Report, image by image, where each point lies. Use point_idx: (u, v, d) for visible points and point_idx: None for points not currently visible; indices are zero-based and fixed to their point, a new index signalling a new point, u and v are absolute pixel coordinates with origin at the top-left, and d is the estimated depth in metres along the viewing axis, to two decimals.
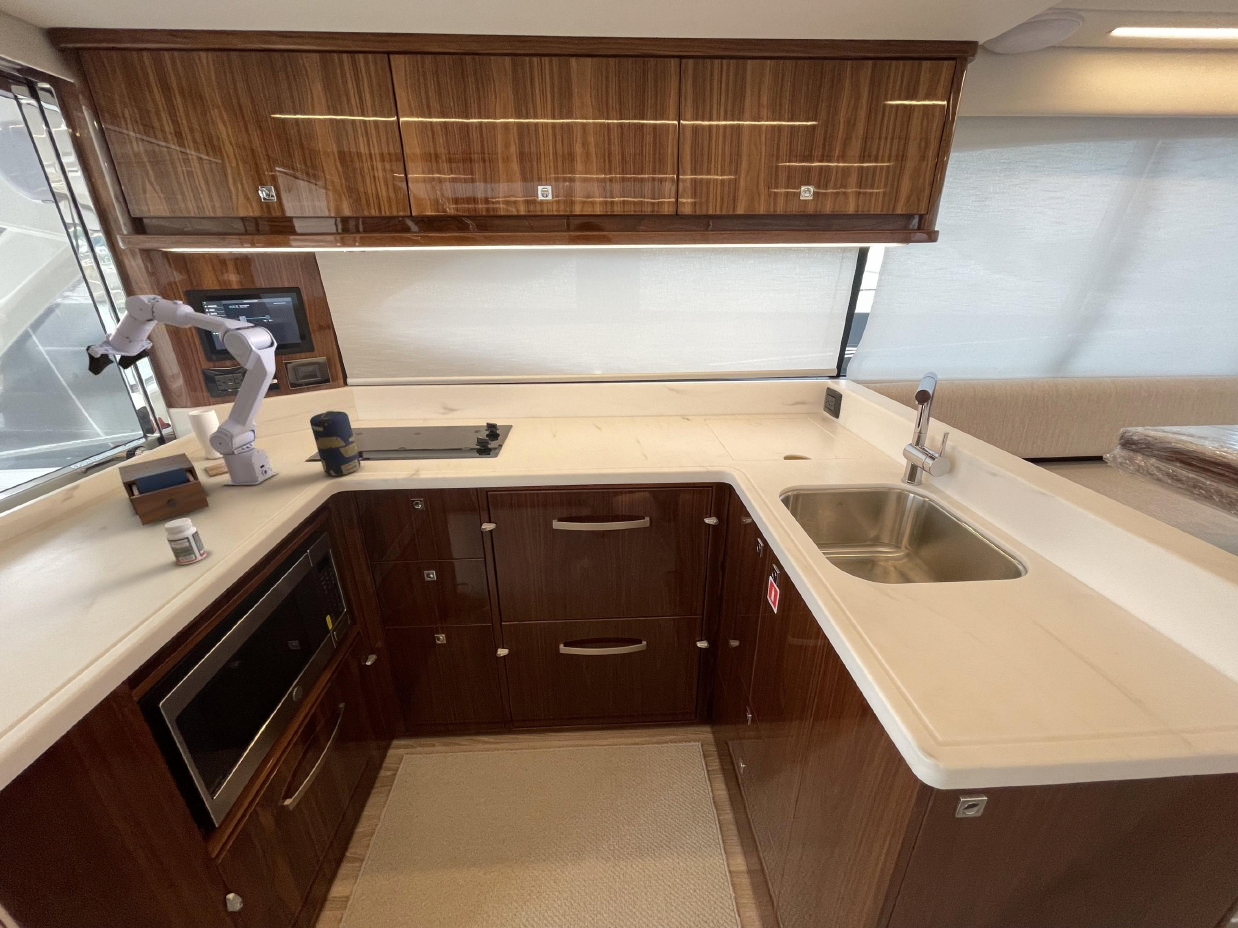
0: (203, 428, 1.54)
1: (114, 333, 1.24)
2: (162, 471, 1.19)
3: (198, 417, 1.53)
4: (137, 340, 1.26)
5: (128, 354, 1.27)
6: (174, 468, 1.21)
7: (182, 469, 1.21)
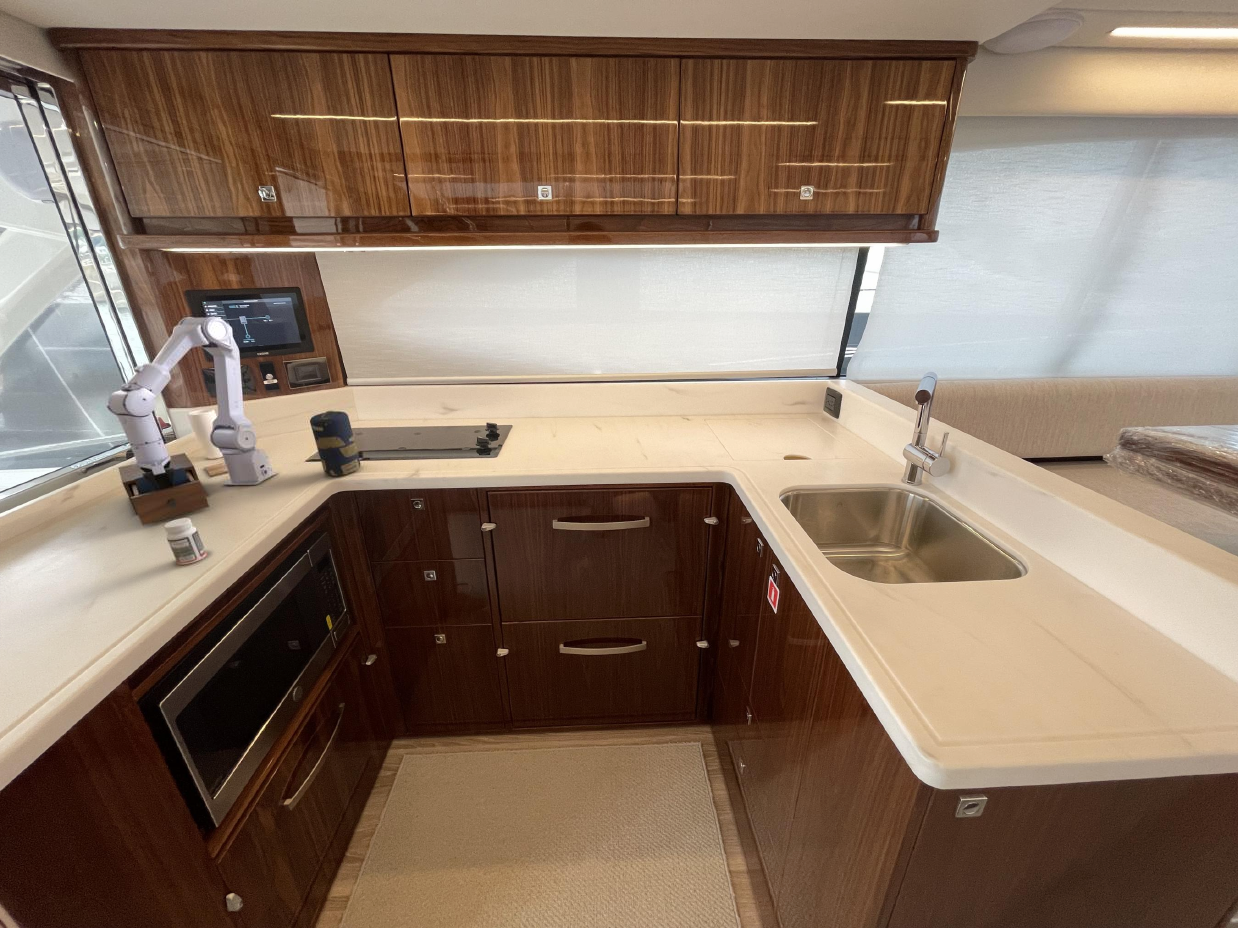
0: (203, 428, 1.54)
1: (141, 450, 1.15)
2: None
3: (198, 417, 1.53)
4: (161, 437, 1.19)
5: (169, 457, 1.19)
6: (174, 468, 1.21)
7: (182, 469, 1.21)
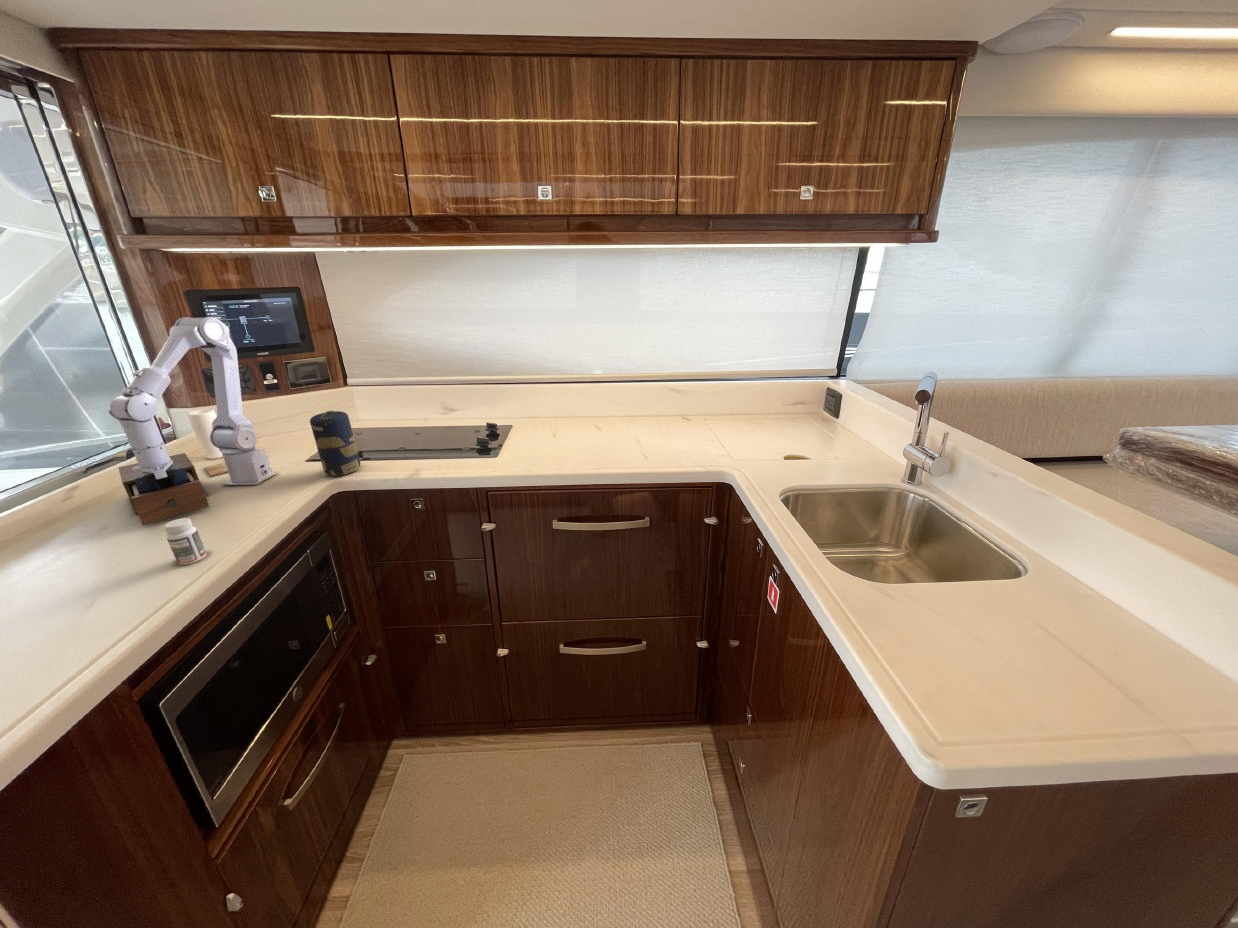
0: (203, 428, 1.54)
1: (143, 454, 1.15)
2: None
3: (198, 417, 1.53)
4: None
5: (171, 462, 1.20)
6: (174, 468, 1.21)
7: (182, 469, 1.21)
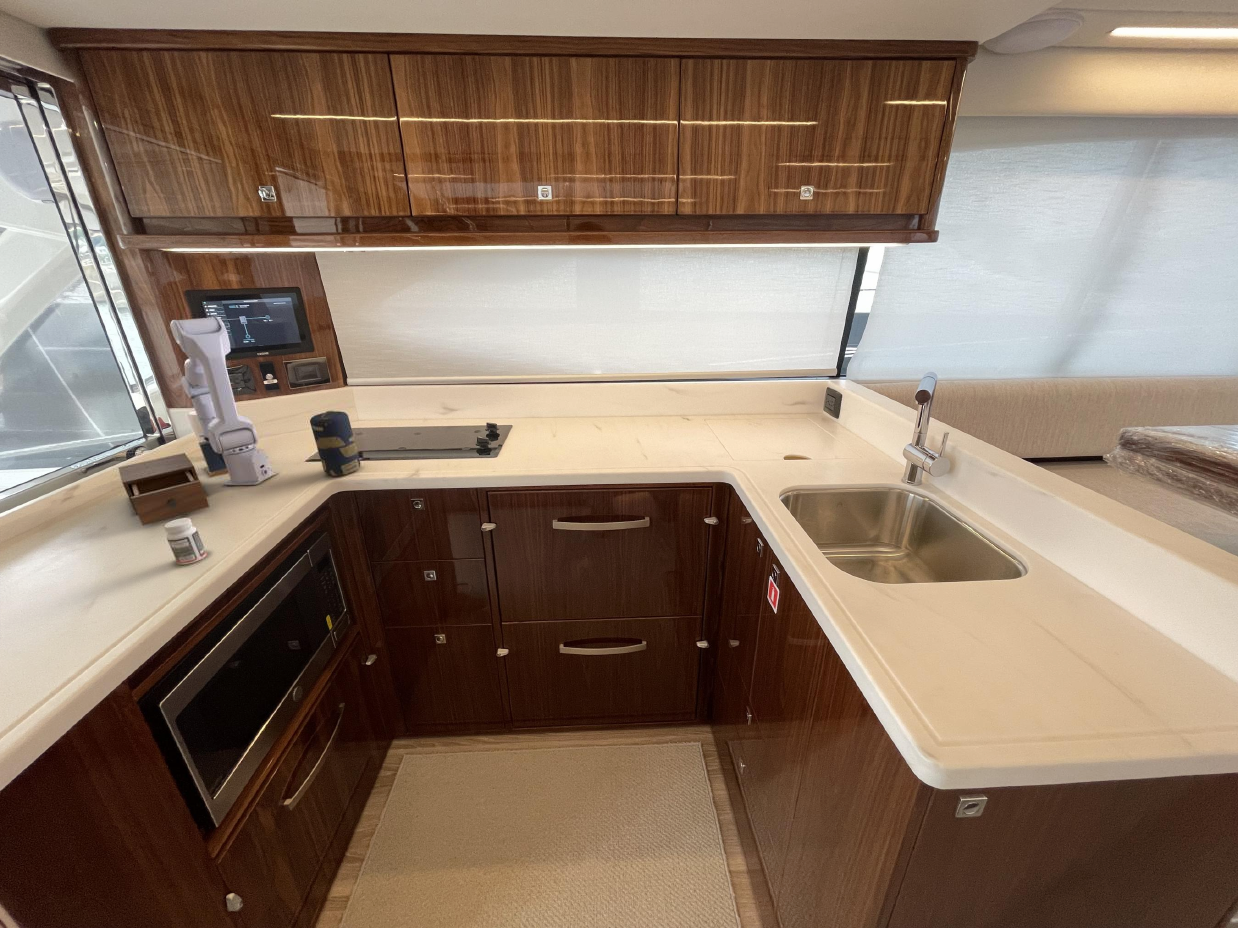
0: None
1: (207, 423, 1.43)
2: None
3: None
4: (208, 418, 1.43)
5: None
6: None
7: None
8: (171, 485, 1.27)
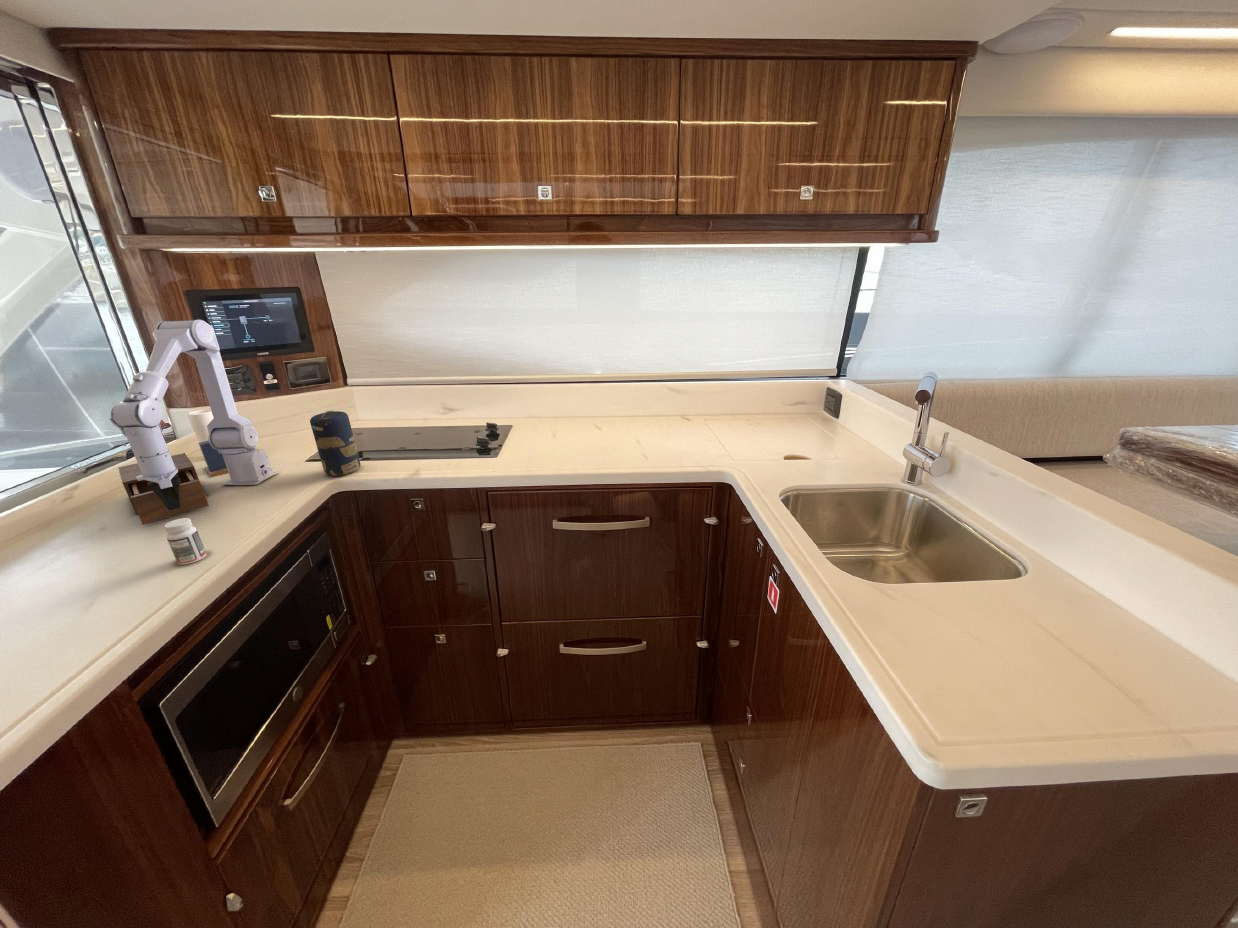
0: (203, 428, 1.54)
1: (147, 463, 1.09)
2: None
3: (198, 417, 1.53)
4: None
5: (176, 470, 1.14)
6: None
7: None
8: None
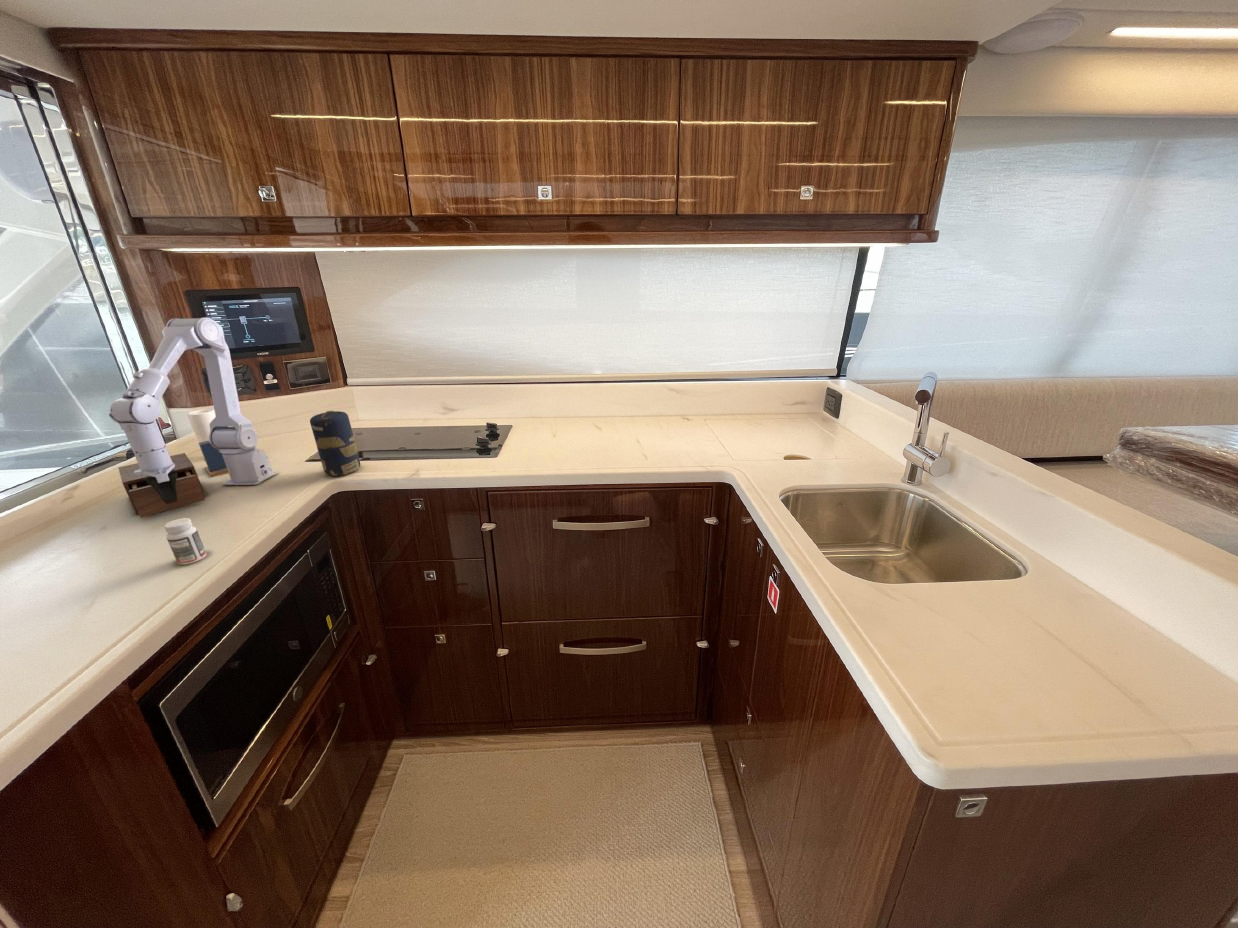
0: (203, 428, 1.54)
1: (144, 458, 1.13)
2: None
3: (198, 417, 1.53)
4: None
5: (173, 465, 1.18)
6: None
7: None
8: None
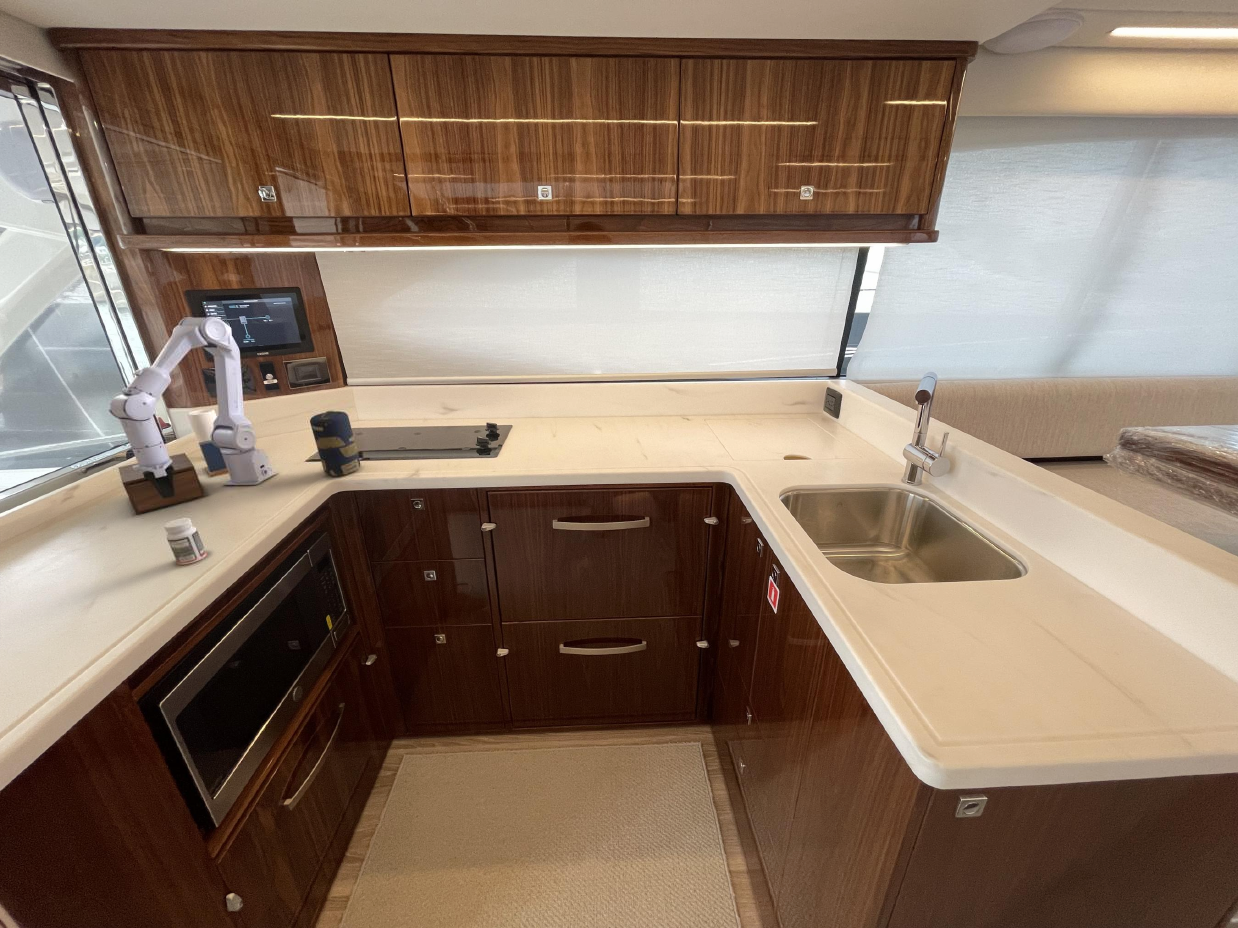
0: (203, 428, 1.54)
1: (142, 453, 1.16)
2: None
3: (198, 417, 1.53)
4: (162, 440, 1.20)
5: (170, 460, 1.21)
6: None
7: None
8: None
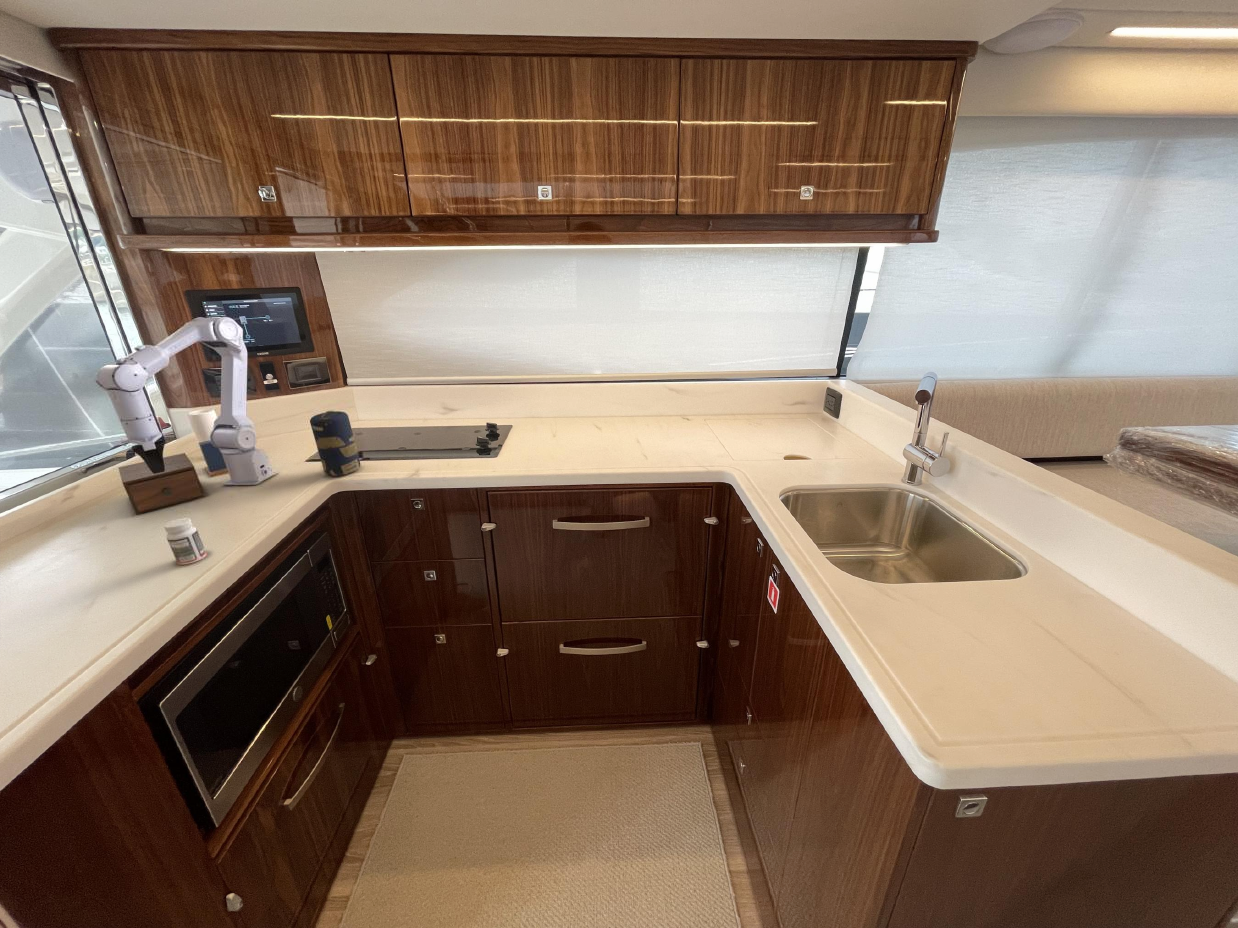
0: (203, 428, 1.54)
1: (131, 426, 1.12)
2: None
3: (198, 417, 1.53)
4: (151, 413, 1.16)
5: (160, 434, 1.17)
6: None
7: None
8: (166, 475, 1.34)
